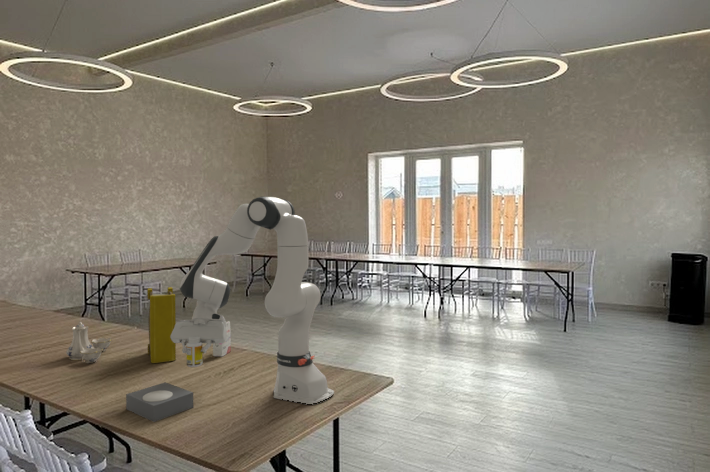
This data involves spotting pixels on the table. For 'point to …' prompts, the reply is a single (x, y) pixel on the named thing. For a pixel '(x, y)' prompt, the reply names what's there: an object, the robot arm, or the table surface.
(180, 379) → the table surface
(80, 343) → the chinaware
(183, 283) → the robot arm
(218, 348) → the ink cartridge box
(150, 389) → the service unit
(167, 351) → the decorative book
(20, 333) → the table surface
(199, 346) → the supplement bottle
